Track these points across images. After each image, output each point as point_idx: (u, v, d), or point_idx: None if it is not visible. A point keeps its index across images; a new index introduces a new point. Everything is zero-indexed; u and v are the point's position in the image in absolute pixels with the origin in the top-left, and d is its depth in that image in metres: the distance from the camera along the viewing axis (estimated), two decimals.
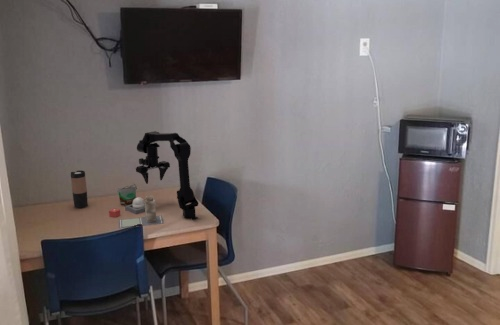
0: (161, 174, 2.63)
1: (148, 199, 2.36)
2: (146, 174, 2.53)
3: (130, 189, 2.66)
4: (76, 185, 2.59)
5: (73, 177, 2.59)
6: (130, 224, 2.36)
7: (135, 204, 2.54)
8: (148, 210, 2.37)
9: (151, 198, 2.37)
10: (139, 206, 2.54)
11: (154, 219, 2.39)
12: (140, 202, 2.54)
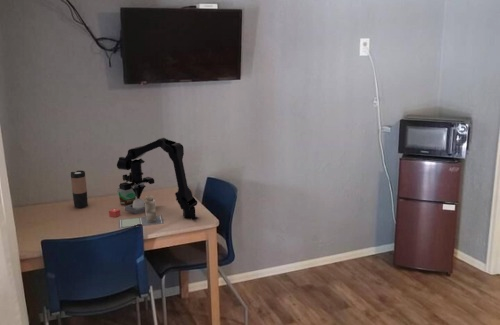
0: None
1: (148, 199, 2.36)
2: (137, 189, 2.51)
3: (130, 189, 2.66)
4: (76, 185, 2.59)
5: (73, 177, 2.59)
6: (130, 224, 2.36)
7: (135, 205, 2.54)
8: (148, 210, 2.37)
9: (151, 198, 2.37)
10: (139, 207, 2.54)
11: (154, 219, 2.39)
12: (140, 203, 2.54)
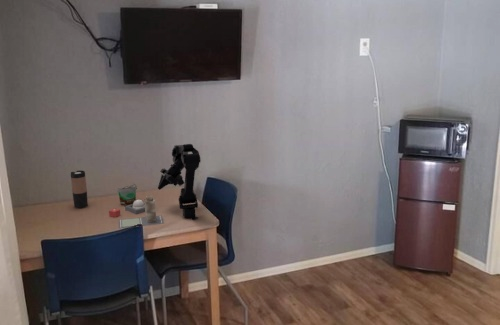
0: None
1: (148, 199, 2.36)
2: (161, 176, 2.53)
3: (130, 189, 2.66)
4: (76, 185, 2.59)
5: (73, 177, 2.59)
6: (130, 224, 2.36)
7: (135, 206, 2.54)
8: (148, 210, 2.37)
9: (151, 198, 2.37)
10: None
11: (154, 219, 2.39)
12: (140, 204, 2.54)
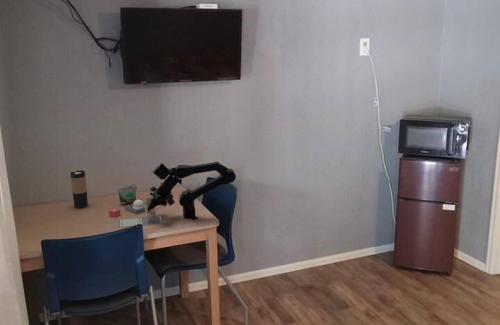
0: None
1: (148, 199, 2.36)
2: (150, 194, 2.42)
3: (130, 189, 2.66)
4: (76, 185, 2.59)
5: (73, 177, 2.59)
6: (130, 224, 2.36)
7: (135, 206, 2.54)
8: None
9: (151, 198, 2.37)
10: None
11: (154, 219, 2.39)
12: (140, 204, 2.54)
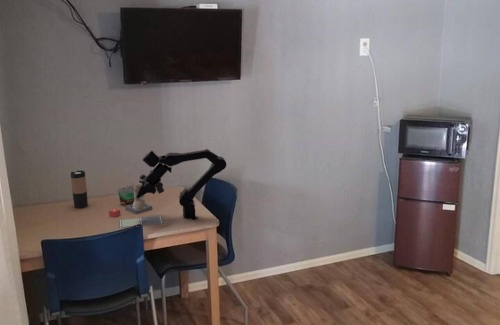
0: None
1: (137, 186, 2.34)
2: (139, 181, 2.39)
3: (130, 189, 2.66)
4: (76, 185, 2.59)
5: (73, 177, 2.59)
6: (130, 224, 2.36)
7: None
8: (137, 198, 2.34)
9: (140, 186, 2.34)
10: None
11: (143, 207, 2.36)
12: None
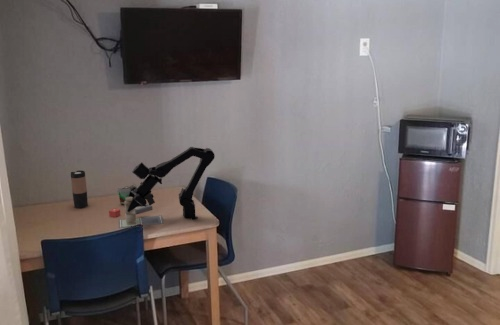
0: None
1: (128, 201, 2.34)
2: (129, 192, 2.41)
3: None
4: (76, 185, 2.59)
5: (73, 177, 2.59)
6: (130, 224, 2.36)
7: None
8: (128, 212, 2.34)
9: (131, 200, 2.34)
10: None
11: (134, 221, 2.37)
12: None
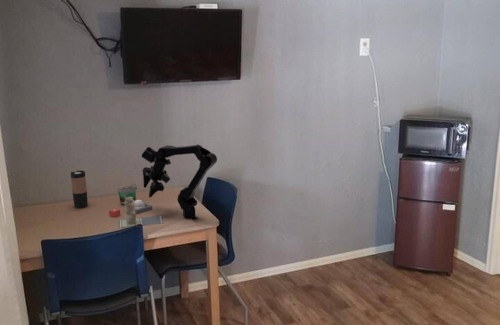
0: None
1: (128, 201, 2.34)
2: (143, 175, 2.51)
3: (130, 189, 2.66)
4: (76, 185, 2.59)
5: (73, 177, 2.59)
6: (130, 224, 2.36)
7: (135, 206, 2.54)
8: (128, 212, 2.34)
9: (131, 200, 2.34)
10: None
11: (134, 221, 2.37)
12: (140, 204, 2.54)
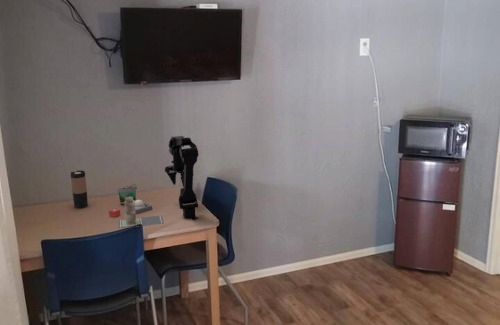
0: None
1: (128, 201, 2.34)
2: (168, 174, 2.62)
3: (130, 189, 2.66)
4: (76, 185, 2.59)
5: (73, 177, 2.59)
6: (130, 224, 2.36)
7: (135, 206, 2.54)
8: (128, 212, 2.34)
9: (131, 200, 2.34)
10: None
11: (134, 221, 2.37)
12: (140, 204, 2.54)
